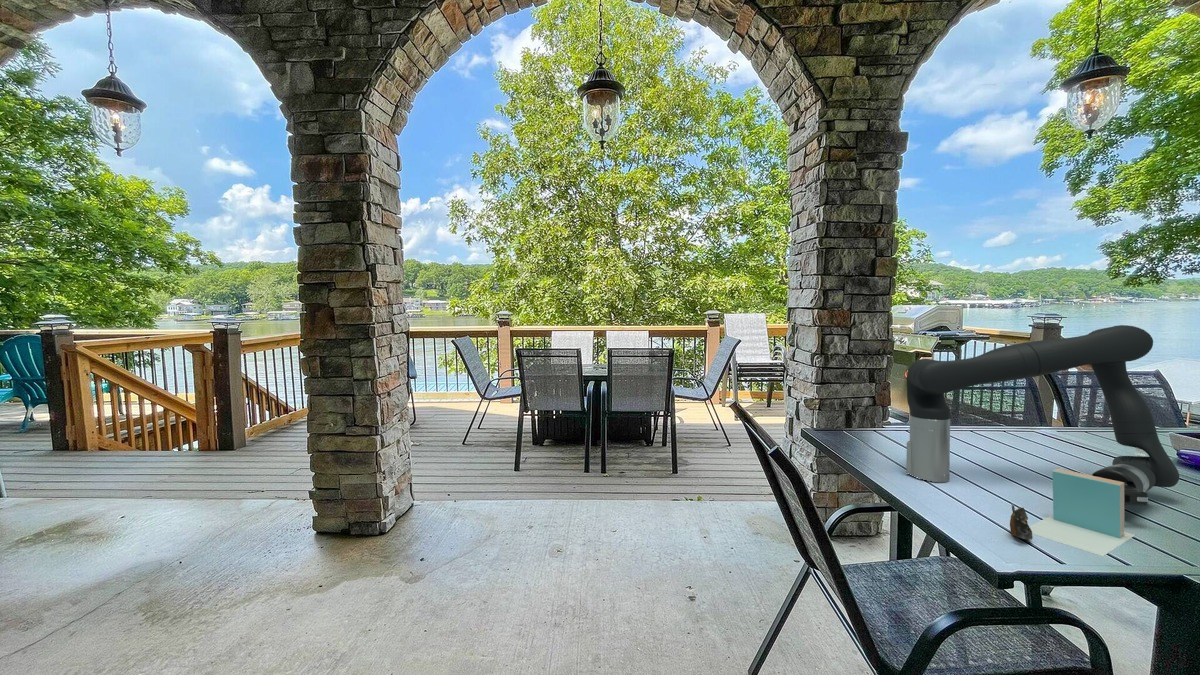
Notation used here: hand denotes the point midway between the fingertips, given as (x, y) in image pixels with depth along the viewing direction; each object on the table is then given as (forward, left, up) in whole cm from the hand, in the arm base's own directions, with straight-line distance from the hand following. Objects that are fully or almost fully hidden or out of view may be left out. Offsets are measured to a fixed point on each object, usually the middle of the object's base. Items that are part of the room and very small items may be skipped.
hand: (1089, 497), depth 97 cm
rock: (-7, -19, -7) cm, 21 cm away
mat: (-1, -6, -7) cm, 9 cm away
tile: (0, -1, -6) cm, 6 cm away
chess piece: (+4, +56, -7) cm, 57 cm away
